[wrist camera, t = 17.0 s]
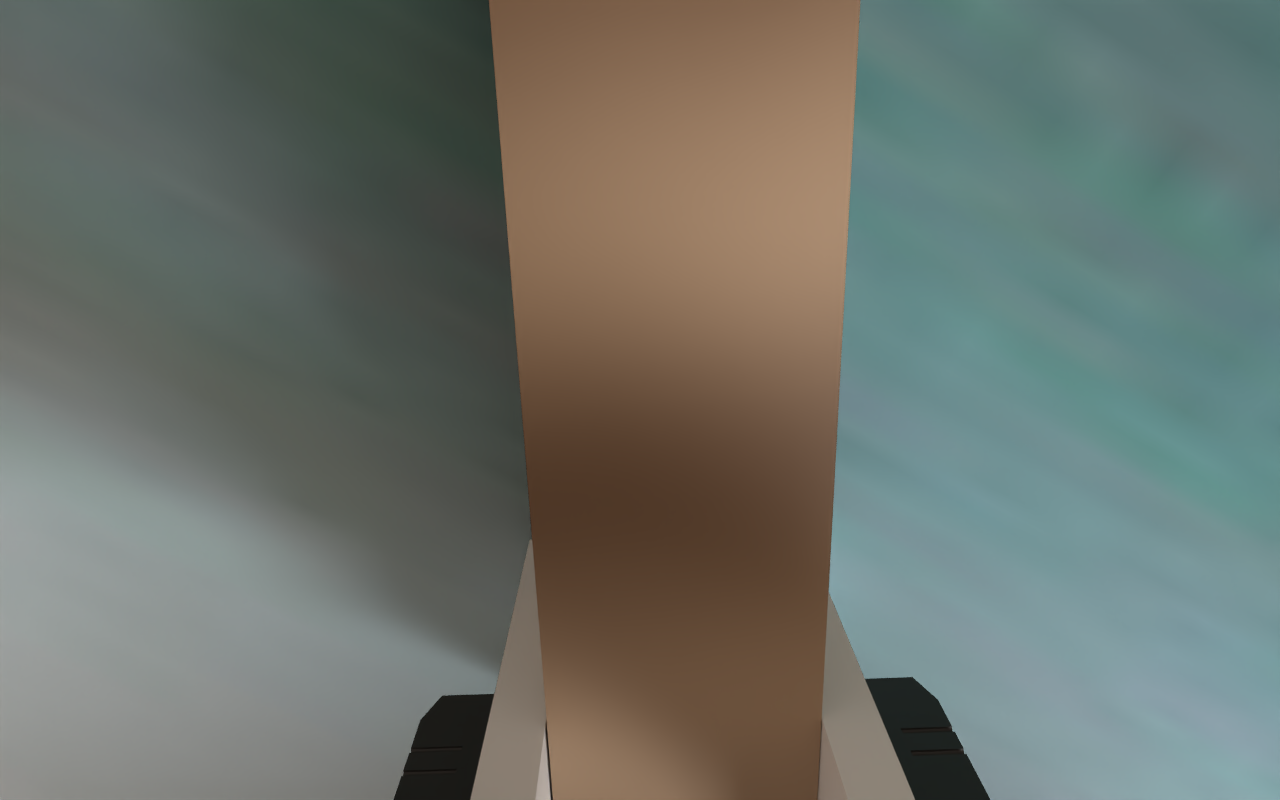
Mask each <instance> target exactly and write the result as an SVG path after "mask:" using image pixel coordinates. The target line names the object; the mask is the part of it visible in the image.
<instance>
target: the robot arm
mask: <svg viewBox="0 0 1280 800" xmlns="http://www.w3.org/2000/svg"><path fill="white" fill-rule="evenodd" d="M394 800H553V793H552V781H551V768H550V756H549V743H548V731H547V719H546V706H545V694H544V681H543V669H542V656H541V644H540V631H539V619H538V606H537V594H536V581H535V569H534V556H533V544H532V540H529V544H528V548H527V553H526V557H525V562H524V566H523V570H522V575H521V579H520V584H519V588H518V592H517V597H516V601H515V606H514V610H513V614H512V619H511V623H510V627H509V632H508V636H507V641H506V645H505V649H504V654H503V658H502V663H501V667H500V671H499V676H498V680H497V685H496V689H495V693H494V694H478V695H448V696H442V697H441V698H440V699H439V700H438V701H437V702H436V703H435V704H434V706H433V707H432V708H431V709H430V710H429V711H428V712H427V713H426V715H425V716H424V717H423V718H422V719H421V720H420V723H419V726H418V729H417V732H416V735H415V738H414V741H413V744H412V747H411V753H409V756H408V759H407V762H406V765H405V768H404V774H403V776H402V777H401V779H400V782H399V785H398V788H397V791H396V794H395V797H394ZM817 800H990V798H989V796H988V794H987V793H986V791H985V789H984V787H983V785H982V783H981V781H980V779H979V777H978V775H977V773H976V772H975V770H974V768H973V766H972V764H971V762H970V760H969V758H968V756H967V754H964V751H963V747H962V745H961V743H960V741H959V739H958V737H957V735H956V733H955V732H953V731H952V726H951V724H950V722H949V720H948V718H947V716H946V714H945V713H944V711H943V709H942V707H941V705H940V703H939V701H938V700H937V699H936V698H935V697H934V696H933V695H932V694H931V693H930V692H928V691H927V690H926V689H925V688H924V687H923V686H922V685H920V684H919V683H918V682H917V681H916V680H915V679H914V678H913V677H906V678H877V679H865V678H864V676H863V673H862V671H861V669H860V666H859V664H858V661H857V659H856V657H855V654H854V652H853V649H852V647H851V645H850V642H849V640H848V637H847V635H846V633H845V630H844V628H843V625H842V623H841V621H840V618H839V616H838V613H837V611H836V609H835V606H834V604H833V601H832V599H831V597H830V594H829V592H828V609H827V628H826V646H825V665H824V684H823V702H822V721H821V739H820V758H819V777H818V795H817Z"/></svg>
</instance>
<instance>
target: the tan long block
mask: <svg viewBox="0 0 1280 800" xmlns="http://www.w3.org/2000/svg"><path fill="white" fill-rule="evenodd" d="M489 8H490V20H491V33H492V45H493V58H494V70H495V83H496V95H497V108H498V120H499V133H500V145H501V157H502V170H503V182H504V195H505V207H506V220H507V232H508V245H509V257H510V270H511V282H512V295H513V307H514V320H515V332H516V344H517V357H518V369H519V382H520V394H521V407H522V419H523V432H524V444H525V457H526V469H527V482H528V494H529V507H530V519H531V532H532V544H533V556H534V569H535V581H536V594H537V606H538V619H539V631H540V644H541V656H542V669H543V681H544V694H545V706H546V719H547V731H548V743H549V756H550V768H551V781H552V793H553V800H817V795H818V777H819V758H820V739H821V721H822V702H823V684H824V665H825V646H826V628H827V609H828V591H829V572H830V553H831V535H832V516H833V498H834V479H835V460H836V442H837V423H838V405H839V386H840V367H841V349H842V330H843V312H844V293H845V274H846V256H847V237H848V219H849V200H850V181H851V163H852V144H853V126H854V107H855V88H856V70H857V51H858V33H859V14H860V0H489Z"/></svg>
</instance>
